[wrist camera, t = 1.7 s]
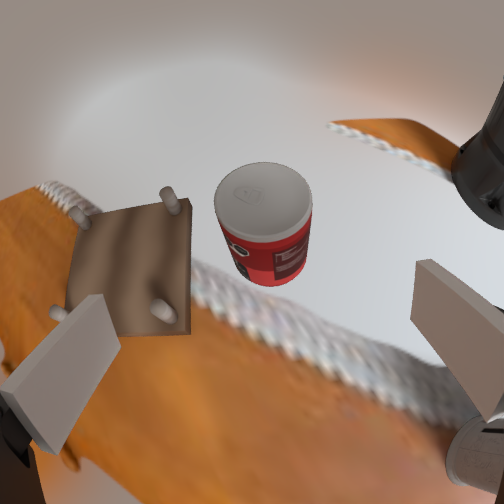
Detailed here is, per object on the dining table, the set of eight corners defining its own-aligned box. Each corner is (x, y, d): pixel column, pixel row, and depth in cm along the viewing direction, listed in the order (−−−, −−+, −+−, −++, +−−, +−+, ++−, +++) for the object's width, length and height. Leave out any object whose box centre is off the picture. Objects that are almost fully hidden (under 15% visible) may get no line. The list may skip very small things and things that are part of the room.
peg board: (192, 207, 38) (179, 179, 33) (190, 334, 31) (172, 322, 26) (88, 224, 39) (67, 203, 34) (71, 336, 32) (43, 324, 27)
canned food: (237, 226, 36) (219, 162, 26) (306, 226, 35) (311, 161, 25) (231, 288, 32) (205, 238, 23) (306, 290, 31) (314, 239, 22)
